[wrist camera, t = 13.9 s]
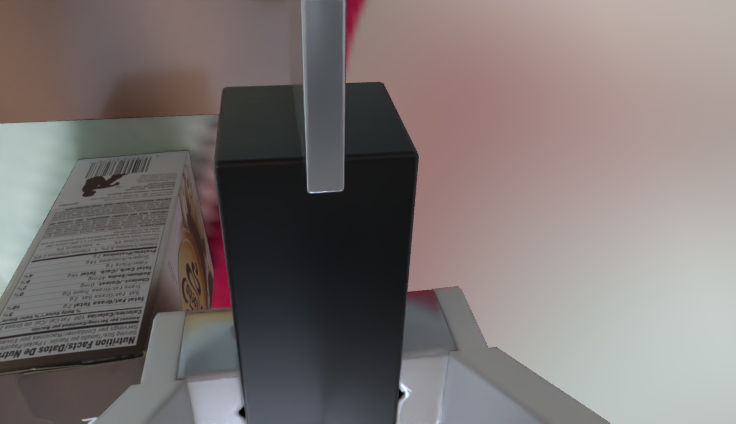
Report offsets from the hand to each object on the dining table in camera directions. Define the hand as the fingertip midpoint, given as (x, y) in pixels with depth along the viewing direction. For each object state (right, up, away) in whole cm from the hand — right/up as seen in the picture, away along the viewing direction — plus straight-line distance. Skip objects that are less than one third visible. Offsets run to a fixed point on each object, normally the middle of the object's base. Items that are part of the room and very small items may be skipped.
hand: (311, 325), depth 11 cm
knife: (0, +4, -2) cm, 4 cm away
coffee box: (-12, +2, +25) cm, 27 cm away
